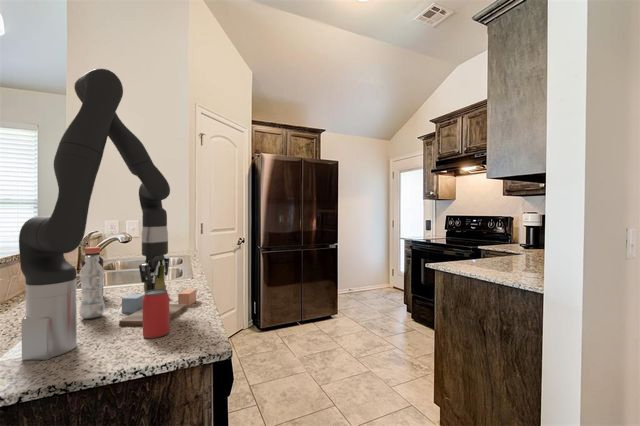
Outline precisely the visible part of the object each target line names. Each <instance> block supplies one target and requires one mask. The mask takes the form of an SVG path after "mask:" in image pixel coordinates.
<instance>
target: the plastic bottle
mask: <svg viewBox="0 0 640 426" xmlns="http://www.w3.org/2000/svg"><path fill="white" fill-rule="evenodd" d="M99 256H100V254H99V255H88V256H86V255H84V258H85V261H84V262H86V263H85V265H84V266H83V267H82V266H81V269H80V271H79V281H80V284H81V285H80V287H81V300H80V302H81V303H80V307H79V315H80V317H81V318H82V319H85V320H87V319H96V318H99V317H101V316H103V315H104V313H105V310H106V305H105V301H104V292H103V293H102V289H103V290H104V278H105V277H104V276H105V270H104V266H103V267H102V266H101V265H100V264H99V263H98V261H99ZM102 287H103V288H102Z"/></svg>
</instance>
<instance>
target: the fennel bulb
mask: <svg viewBox="0 0 640 426" xmlns="http://www.w3.org/2000/svg"><path fill="white" fill-rule="evenodd" d="M164 265H165V264H164ZM164 265H160V270H158V274H157V276H156V277H155V282H154V283H155V289H166V290H167V285H166V282H165V278H164ZM150 273H154V272H150ZM145 278H146V276H145ZM151 279H152V276H151ZM165 285H166V286H165ZM143 291H144V292H143V293H145V292H146V291H147V284H146V283H143Z"/></svg>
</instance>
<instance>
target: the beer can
mask: <svg viewBox="0 0 640 426" xmlns="http://www.w3.org/2000/svg"><path fill="white" fill-rule="evenodd" d="M144 294H145V295H144V298H143V326H142V336H143V338H146V339H158V338H160V337H163V336H166V335H167V334H168V333H169V332H170V321H169V304H170V296H169V293H168V290H167V288H166V289H154V290H149V291H146V292H144Z"/></svg>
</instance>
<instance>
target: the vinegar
mask: <svg viewBox="0 0 640 426" xmlns="http://www.w3.org/2000/svg"><path fill="white" fill-rule="evenodd" d="M100 253H101V246H89V247H84V256H88V255H99V261H98V263H99V264H100V265H101V266H102V267H103V268H104V259H103V258H102V256H100ZM84 261H85V257H84V258H83V259H82V260H81V268H82V267H83V266H84V265H85V263H86V262H84ZM102 288H103V289H102V293H103V294H104V286H103V287H102Z"/></svg>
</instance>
